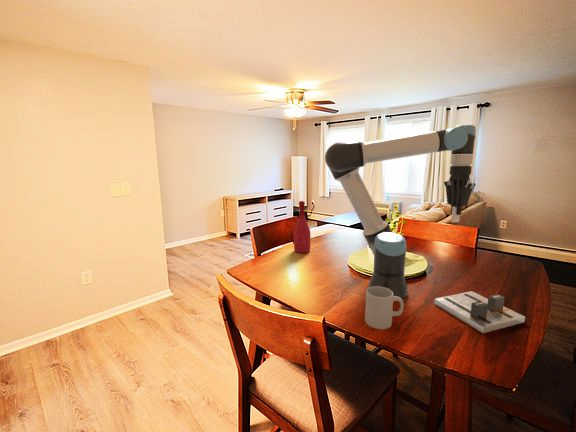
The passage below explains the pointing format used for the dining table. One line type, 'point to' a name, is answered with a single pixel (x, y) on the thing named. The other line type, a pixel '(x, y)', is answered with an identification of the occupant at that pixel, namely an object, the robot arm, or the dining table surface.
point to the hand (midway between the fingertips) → (455, 221)
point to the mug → (381, 307)
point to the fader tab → (495, 302)
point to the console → (478, 312)
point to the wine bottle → (302, 232)
